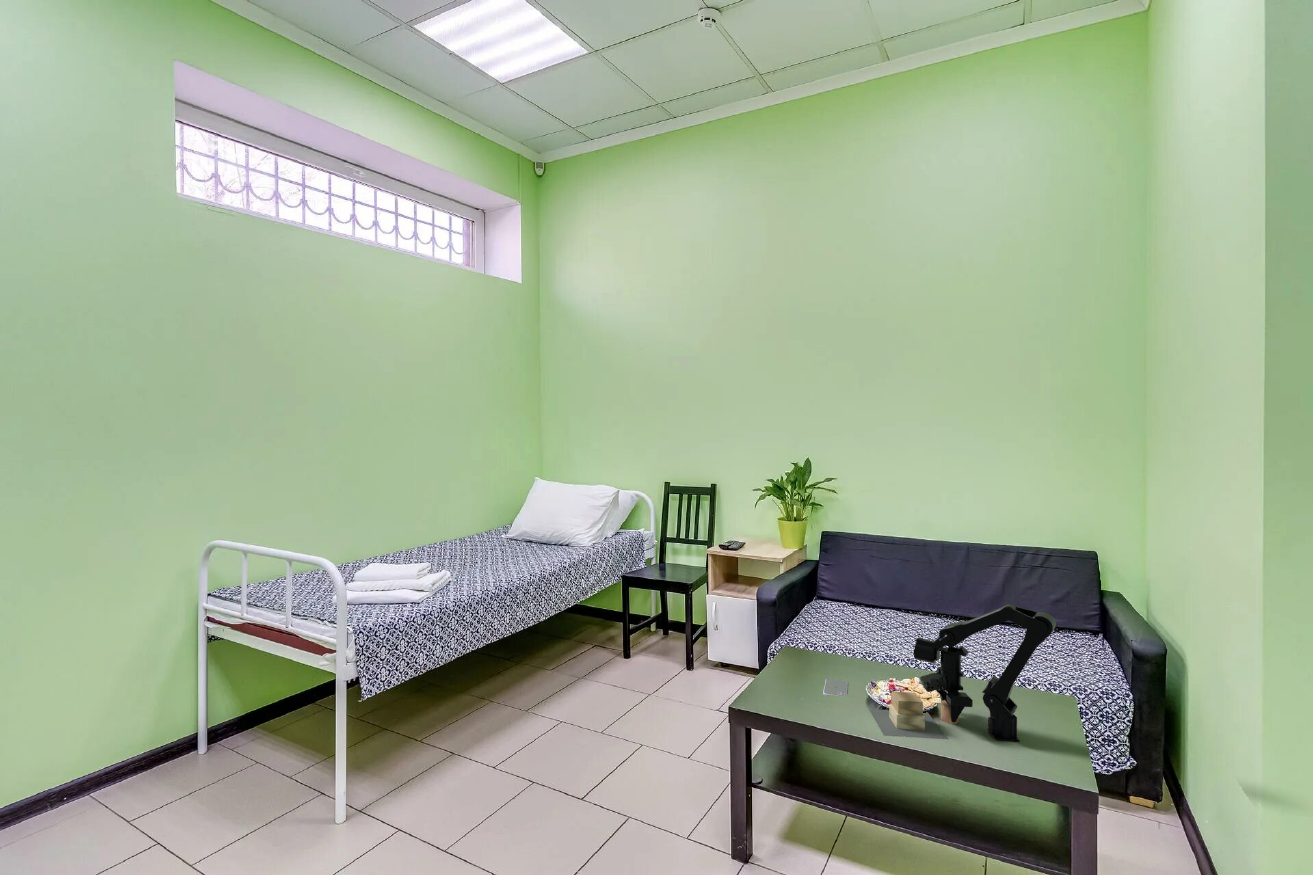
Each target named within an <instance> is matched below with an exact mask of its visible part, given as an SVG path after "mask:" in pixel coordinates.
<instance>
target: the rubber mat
mask: <svg viewBox="0 0 1313 875" xmlns="http://www.w3.org/2000/svg"><path fill="white" fill-rule="evenodd" d="M868 711H869V712H870V713H871V716H872V718H873V719H874V721H875V723H876V724H877V727H878V728H879V729H880V732H881V733H882V735H883V736H887V737H889V736H890V737H902V736H903V738H904V736H905V737H906V738H917V739H918V738H920V739H921V738H922V739H934V740H935V739H937V740H939V739H940V740H949V738H948V736H947V735H946V734H945V733H944V731H943V730H942V729H941V727H940V726H939V725H938V724H937V722H936V721H935V719H933V717H932V716H931V715H930V714H929V712H927V711H926V713H923V715H924V716H925V730H914V729H897V728H896V726H895V725H894V723H893V722H892V720H891V719H890V717H889V709H874V708H869V709H868Z"/></svg>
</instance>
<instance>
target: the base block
mask: <svg viewBox="0 0 1313 875" xmlns="http://www.w3.org/2000/svg"><path fill="white" fill-rule="evenodd" d="M888 708H889V709H888V710H889V717H890V719H891V720H892V722H893V723H894V725H895V726H896V728H897V729H914V730H925V716H924V715H923V716H920V715H902V714H898V713H897V712H896V710H895V709H894V707H893V706H892V703H889V707H888Z"/></svg>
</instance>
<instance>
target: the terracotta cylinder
mask: <svg viewBox="0 0 1313 875" xmlns="http://www.w3.org/2000/svg"><path fill="white" fill-rule="evenodd" d="M940 701H941V700H940ZM940 720H941V721H942V722H944V723H946V724H950V725H957V724H959V723H960V716H959V717H958V719H957V720H956V722H952V721H951V717H950V710H949V704H948V703H947V702H946V701H945V700H943V701H941V703H940Z"/></svg>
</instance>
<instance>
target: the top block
mask: <svg viewBox="0 0 1313 875" xmlns="http://www.w3.org/2000/svg"><path fill="white" fill-rule="evenodd" d="M891 704H892V706H893V707H894V709H895V710H896V712H897V713H898V714H902V715H920V716H923V712H924V711H923V710H924V709H923V708H924V707H923V706H924V702H923V700H922V699H921V698H920V697H919V695H918V694H917V692H913V691H912V692H909V691H891Z"/></svg>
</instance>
